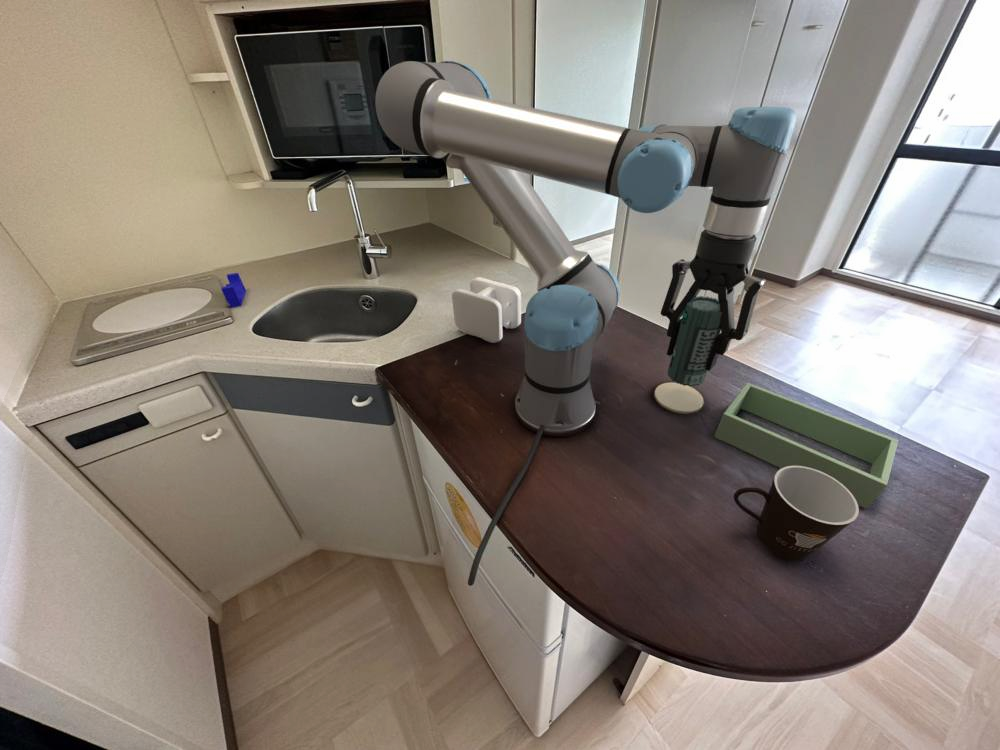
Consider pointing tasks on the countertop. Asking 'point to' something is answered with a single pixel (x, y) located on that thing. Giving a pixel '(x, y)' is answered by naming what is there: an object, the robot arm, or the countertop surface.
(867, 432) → the box
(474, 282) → the cable organizer
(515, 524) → the countertop surface
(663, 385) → the coaster
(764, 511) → the coffee mug
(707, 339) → the can
